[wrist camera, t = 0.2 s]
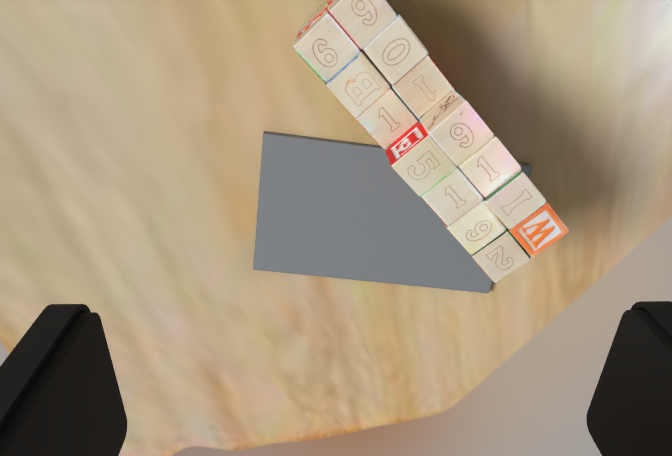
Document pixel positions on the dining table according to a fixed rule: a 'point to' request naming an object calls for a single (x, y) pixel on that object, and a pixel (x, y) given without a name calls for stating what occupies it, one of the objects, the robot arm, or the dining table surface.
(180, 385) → the dining table surface
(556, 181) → the dining table surface
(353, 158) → the mat
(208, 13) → the dining table surface
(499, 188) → the stack of blocks
